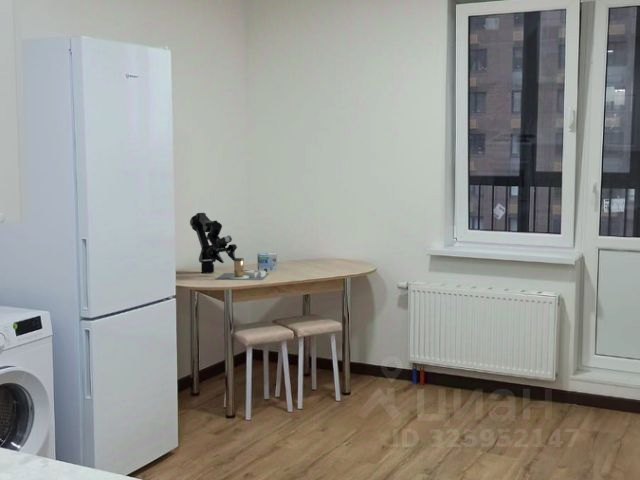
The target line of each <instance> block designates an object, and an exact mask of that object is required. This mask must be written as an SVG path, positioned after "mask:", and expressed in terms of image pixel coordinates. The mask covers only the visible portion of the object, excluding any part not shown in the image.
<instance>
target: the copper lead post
mask: <svg viewBox="0 0 640 480" xmlns="http://www.w3.org/2000/svg"><path fill="white" fill-rule="evenodd" d="M244 260H245V259H244V257H235V258H234V261H233V264H234V265H233V266H234V267H233V268H234V269H233V270H234V271H233V273H234V277H244V271H245V269H244V268H245V267H244Z"/></svg>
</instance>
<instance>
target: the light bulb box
mask: <svg viewBox="0 0 640 480" xmlns="http://www.w3.org/2000/svg"><path fill="white" fill-rule="evenodd" d="M257 270H261V271H266V273H269V272H278V253H276V252H258V253H257Z"/></svg>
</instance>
